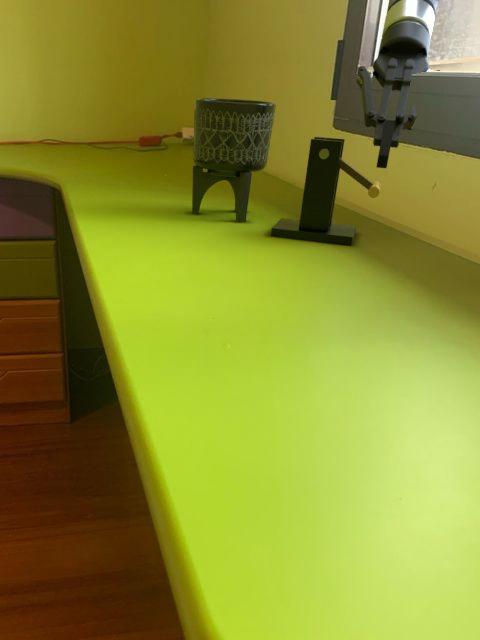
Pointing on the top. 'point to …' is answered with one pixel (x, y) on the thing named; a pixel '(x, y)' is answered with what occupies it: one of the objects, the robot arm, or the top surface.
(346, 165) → the lever
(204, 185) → the planter
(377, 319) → the top surface
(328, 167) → the bracket
